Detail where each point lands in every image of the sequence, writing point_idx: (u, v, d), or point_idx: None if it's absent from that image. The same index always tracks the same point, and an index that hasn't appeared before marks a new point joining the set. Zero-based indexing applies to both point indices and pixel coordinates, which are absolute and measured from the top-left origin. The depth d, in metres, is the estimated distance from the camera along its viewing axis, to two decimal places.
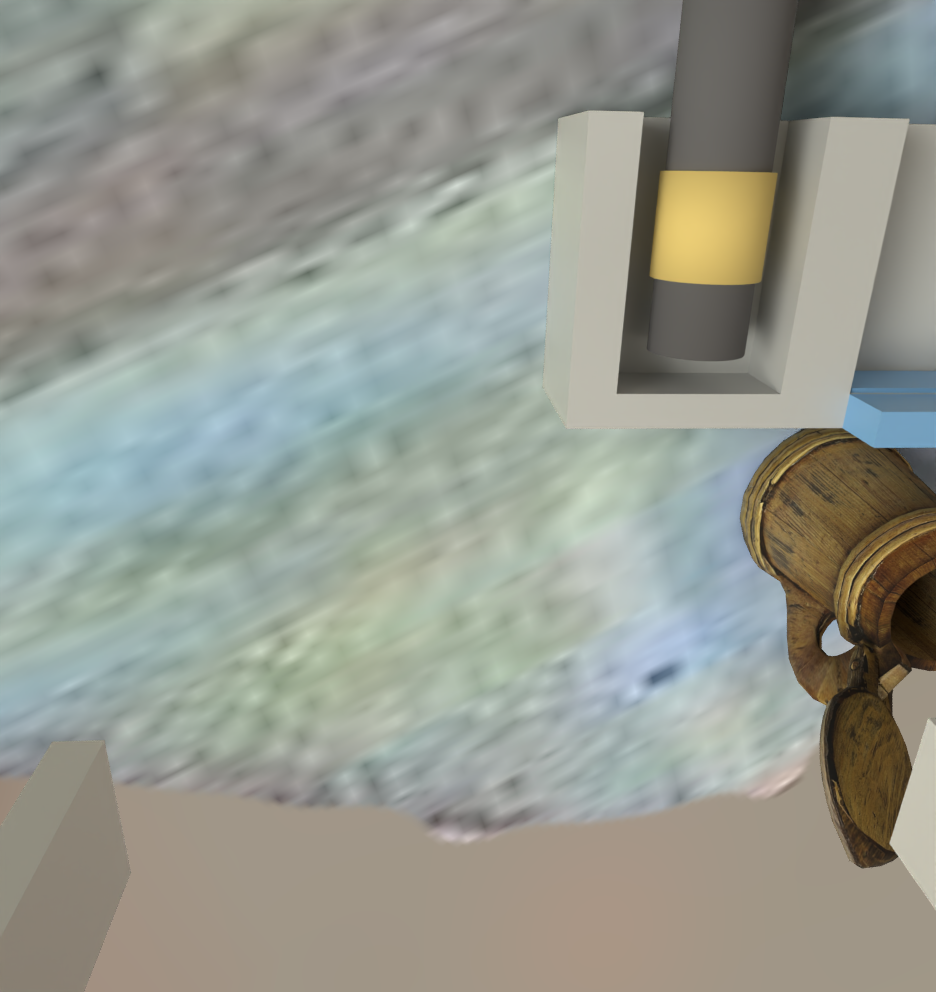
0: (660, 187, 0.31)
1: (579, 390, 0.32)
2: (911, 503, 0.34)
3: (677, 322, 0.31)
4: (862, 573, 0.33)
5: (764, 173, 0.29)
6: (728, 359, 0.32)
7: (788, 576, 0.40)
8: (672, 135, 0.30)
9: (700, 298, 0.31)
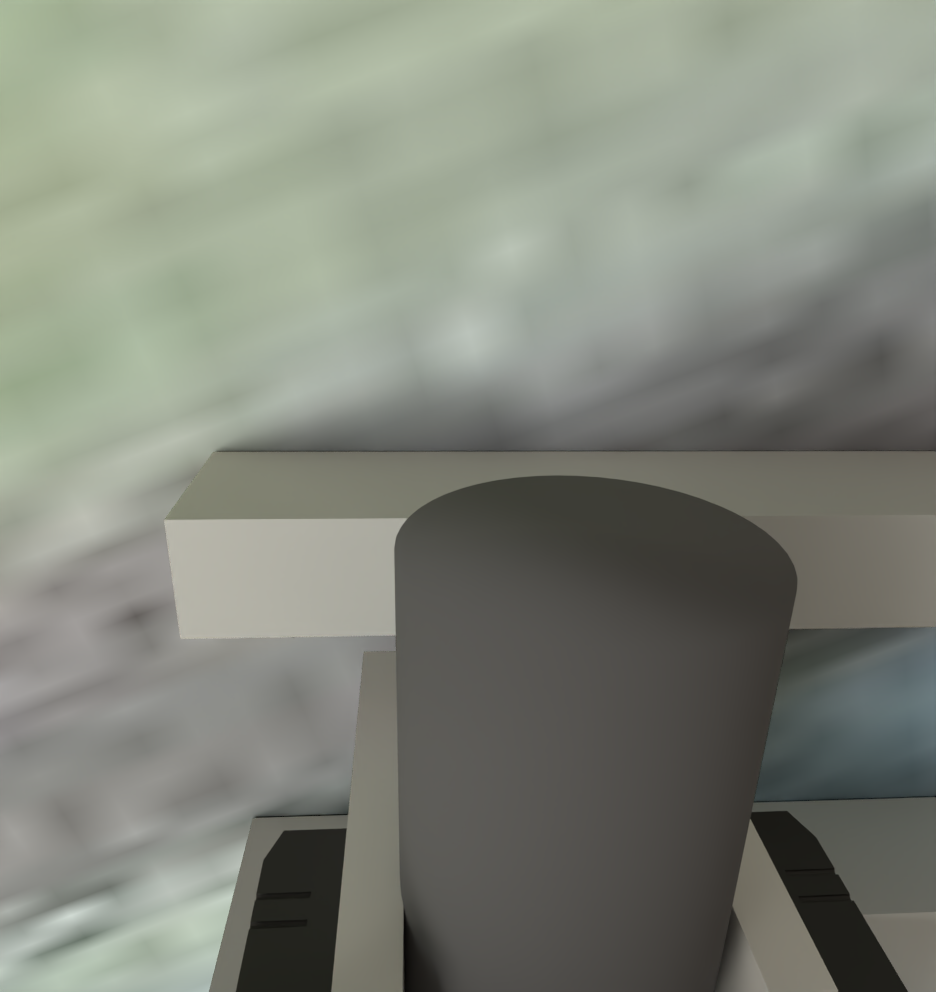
0: None
1: None
2: None
3: None
4: None
5: None
6: None
7: None
8: None
9: None
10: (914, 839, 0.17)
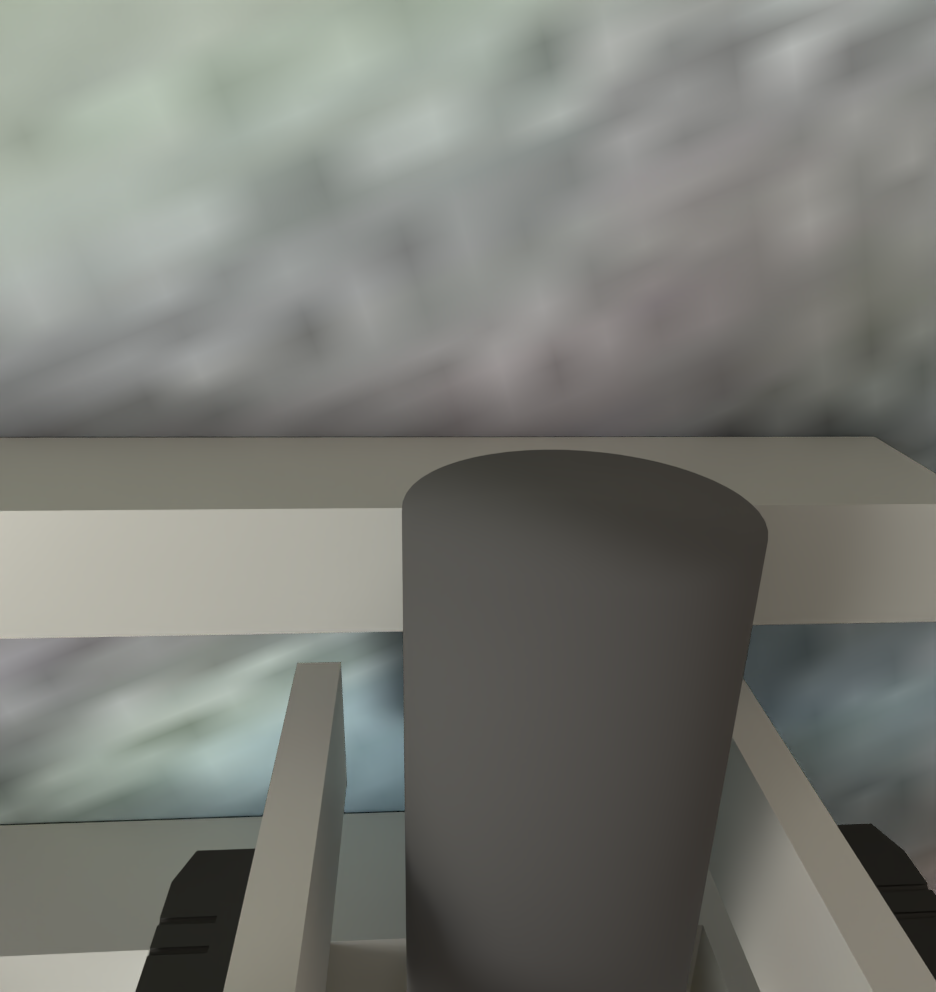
0: None
1: None
2: None
3: None
4: None
5: None
6: None
7: None
8: None
9: None
10: None
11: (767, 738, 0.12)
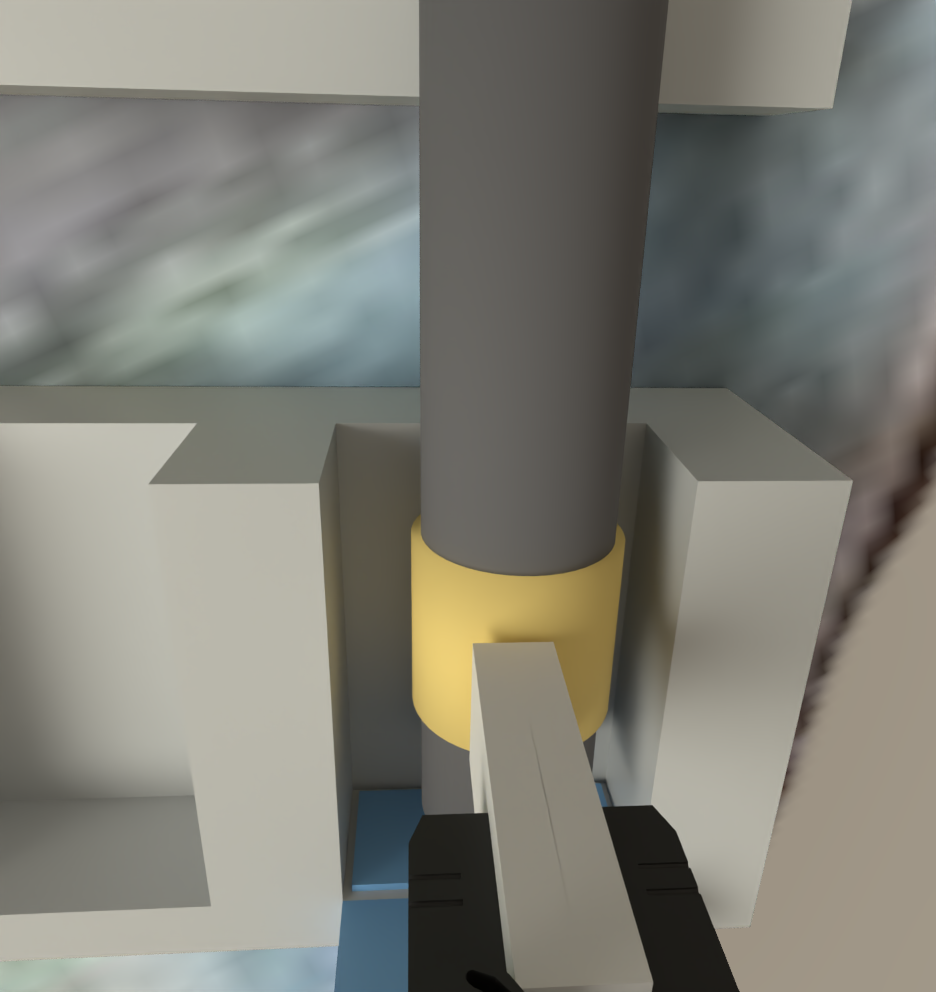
0: (412, 565, 0.16)
1: None
2: None
3: (464, 801, 0.17)
4: None
5: (601, 569, 0.15)
6: None
7: None
8: (423, 484, 0.15)
9: None
10: None
11: (563, 722, 0.12)
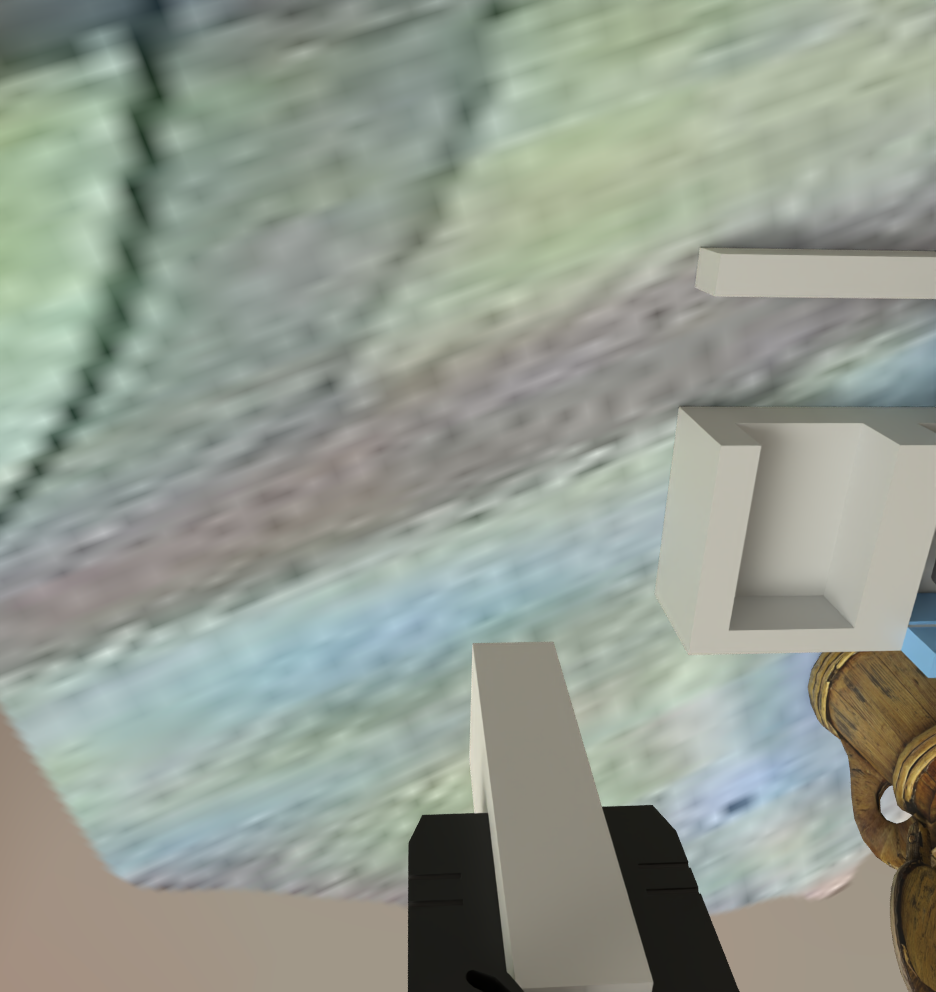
0: None
1: (700, 628, 0.42)
2: None
3: None
4: (917, 766, 0.43)
5: None
6: None
7: (850, 742, 0.50)
8: None
9: None
10: None
11: (563, 722, 0.12)
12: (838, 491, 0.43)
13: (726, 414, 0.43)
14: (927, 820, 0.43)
